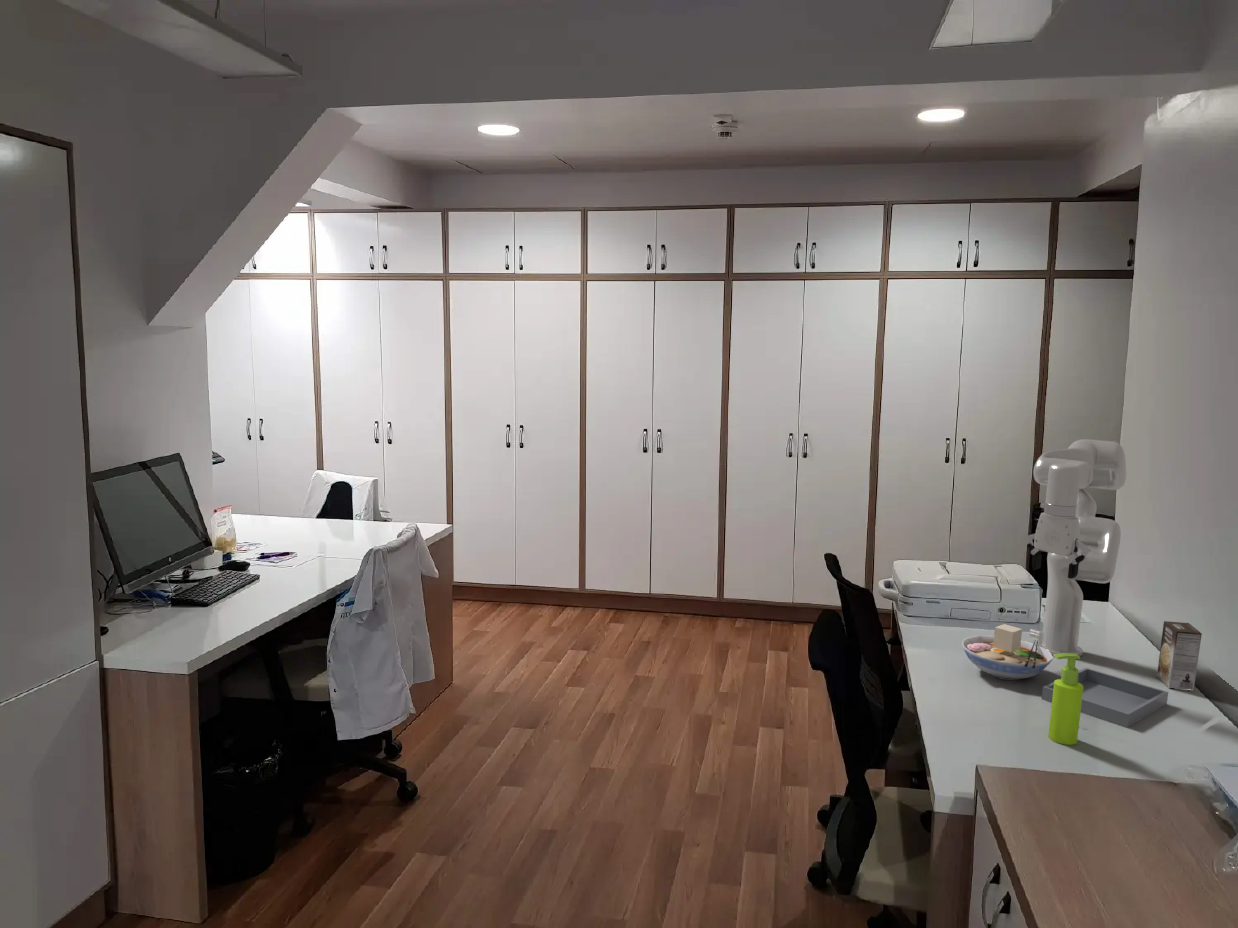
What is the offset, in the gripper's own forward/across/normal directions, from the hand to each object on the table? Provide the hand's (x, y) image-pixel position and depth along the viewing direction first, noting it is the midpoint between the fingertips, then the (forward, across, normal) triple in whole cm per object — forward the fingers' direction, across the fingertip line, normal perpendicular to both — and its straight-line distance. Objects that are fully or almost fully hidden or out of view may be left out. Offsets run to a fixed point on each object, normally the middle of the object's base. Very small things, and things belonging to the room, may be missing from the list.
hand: (1053, 573), depth 238 cm
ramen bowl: (+29, -6, -10) cm, 31 cm away
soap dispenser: (+27, +24, -37) cm, 51 cm away
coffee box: (+29, +23, +25) cm, 45 cm away
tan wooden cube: (+21, -6, -10) cm, 24 cm away
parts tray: (+28, +19, -7) cm, 35 cm away
